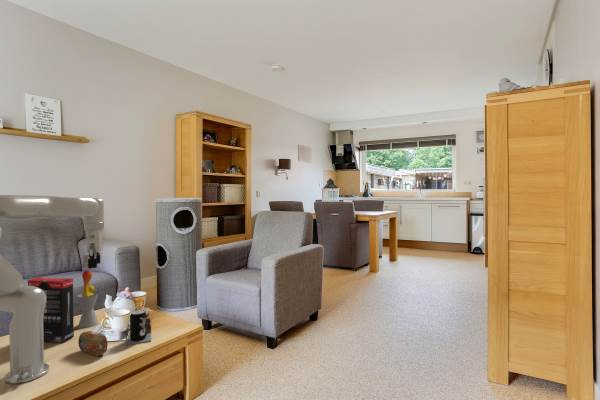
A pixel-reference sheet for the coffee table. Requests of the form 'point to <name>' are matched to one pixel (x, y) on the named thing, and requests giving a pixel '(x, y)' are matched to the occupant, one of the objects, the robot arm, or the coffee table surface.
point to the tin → (93, 343)
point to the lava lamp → (87, 299)
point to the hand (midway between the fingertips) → (94, 265)
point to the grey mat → (146, 339)
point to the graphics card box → (56, 308)
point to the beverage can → (137, 325)
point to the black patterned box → (148, 324)
